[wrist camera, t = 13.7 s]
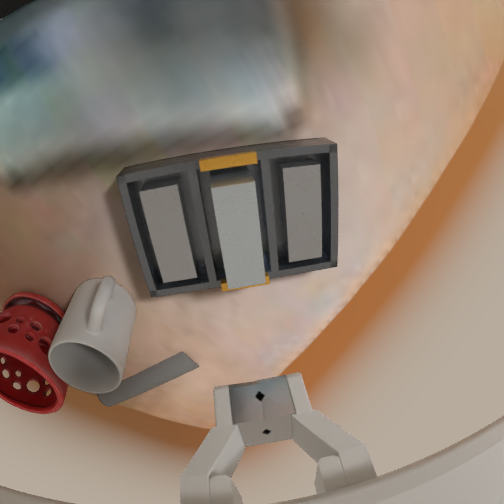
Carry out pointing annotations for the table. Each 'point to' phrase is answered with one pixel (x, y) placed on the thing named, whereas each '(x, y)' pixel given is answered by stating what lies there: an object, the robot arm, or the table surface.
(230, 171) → the grey rectangular block
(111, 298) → the mug
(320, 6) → the table surface
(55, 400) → the plant pot
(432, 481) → the robot arm
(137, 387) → the half round rod
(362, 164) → the table surface
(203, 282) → the rack
